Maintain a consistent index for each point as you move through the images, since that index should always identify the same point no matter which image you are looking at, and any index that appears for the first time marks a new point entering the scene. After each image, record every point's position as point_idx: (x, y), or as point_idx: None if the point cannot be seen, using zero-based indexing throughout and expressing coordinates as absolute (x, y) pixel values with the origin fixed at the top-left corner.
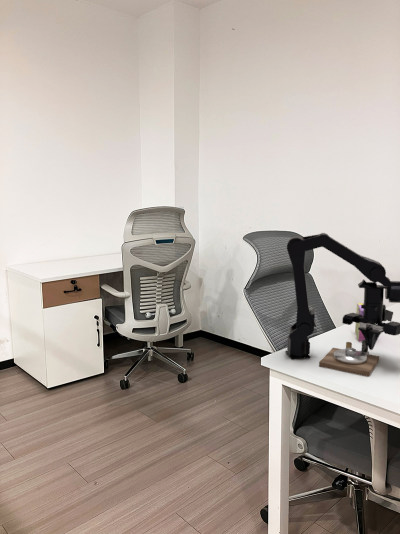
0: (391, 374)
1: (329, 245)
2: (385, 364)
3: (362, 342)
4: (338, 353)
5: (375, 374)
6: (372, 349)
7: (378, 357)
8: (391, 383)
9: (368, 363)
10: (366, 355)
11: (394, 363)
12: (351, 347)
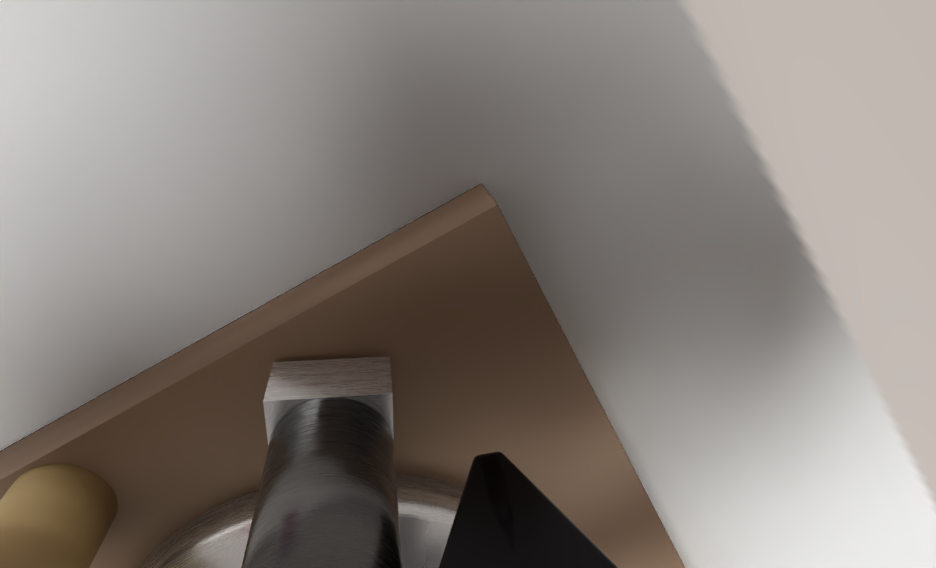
0: (832, 401)
1: None
2: (628, 221)
3: None
4: None
5: (716, 535)
6: (501, 461)
7: (526, 269)
8: (912, 541)
9: None
10: None
11: (692, 56)
12: (69, 551)
